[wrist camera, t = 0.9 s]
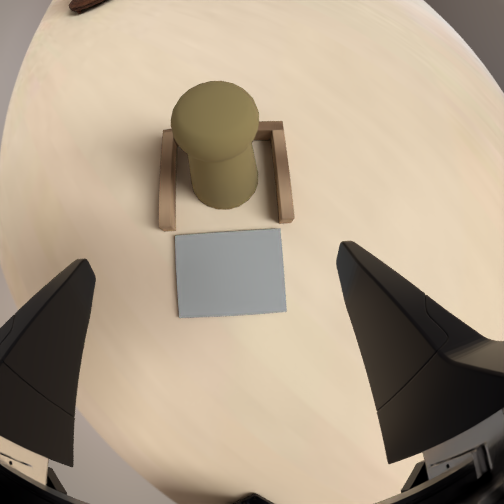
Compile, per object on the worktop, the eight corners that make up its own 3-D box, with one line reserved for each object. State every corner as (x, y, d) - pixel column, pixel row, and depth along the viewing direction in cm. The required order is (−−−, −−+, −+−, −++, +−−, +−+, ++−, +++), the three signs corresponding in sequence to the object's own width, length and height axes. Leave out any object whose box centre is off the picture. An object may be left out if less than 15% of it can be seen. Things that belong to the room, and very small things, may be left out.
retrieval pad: (286, 311, 22) (286, 311, 22) (180, 317, 22) (179, 317, 22) (279, 229, 23) (280, 228, 23) (175, 236, 23) (175, 235, 23)
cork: (179, 191, 23) (136, 127, 13) (213, 139, 24) (197, 57, 13) (237, 221, 23) (233, 168, 12) (269, 165, 24) (286, 87, 13)
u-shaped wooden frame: (290, 222, 23) (294, 218, 22) (164, 231, 23) (158, 227, 21) (280, 131, 24) (282, 121, 23) (167, 139, 24) (163, 130, 22)
